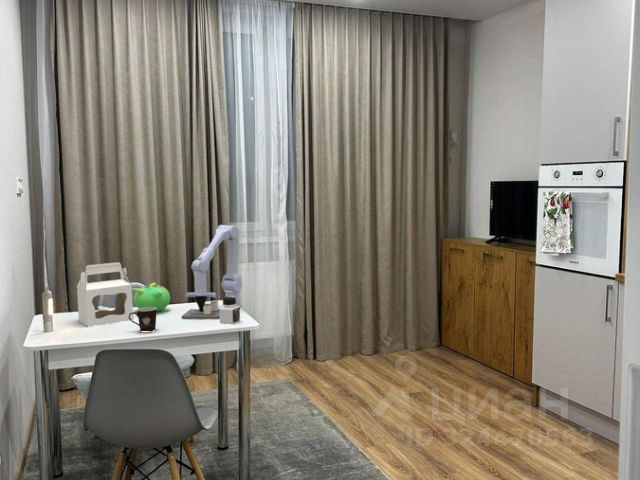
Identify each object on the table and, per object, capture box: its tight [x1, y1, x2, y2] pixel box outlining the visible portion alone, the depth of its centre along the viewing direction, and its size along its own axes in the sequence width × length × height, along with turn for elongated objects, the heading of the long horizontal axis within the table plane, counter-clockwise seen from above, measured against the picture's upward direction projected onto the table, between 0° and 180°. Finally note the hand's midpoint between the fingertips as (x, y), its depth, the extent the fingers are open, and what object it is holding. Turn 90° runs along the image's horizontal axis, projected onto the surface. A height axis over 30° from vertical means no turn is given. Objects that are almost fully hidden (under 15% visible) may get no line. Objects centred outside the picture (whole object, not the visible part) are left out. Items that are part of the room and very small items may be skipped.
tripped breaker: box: [204, 303, 212, 314], centre depth 286 cm, size 3×3×5 cm
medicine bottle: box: [219, 296, 241, 325], centre depth 276 cm, size 7×7×12 cm
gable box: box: [76, 261, 134, 327], centre depth 281 cm, size 22×13×28 cm, turn 129°
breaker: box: [209, 300, 219, 311], centre depth 293 cm, size 3×3×5 cm
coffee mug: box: [129, 307, 158, 332], centre depth 262 cm, size 12×9×10 cm
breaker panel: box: [181, 308, 220, 320], centre depth 290 cm, size 15×19×2 cm
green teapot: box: [132, 282, 171, 313], centre depth 299 cm, size 18×17×15 cm
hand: (201, 311), depth 287 cm, fingers closed
